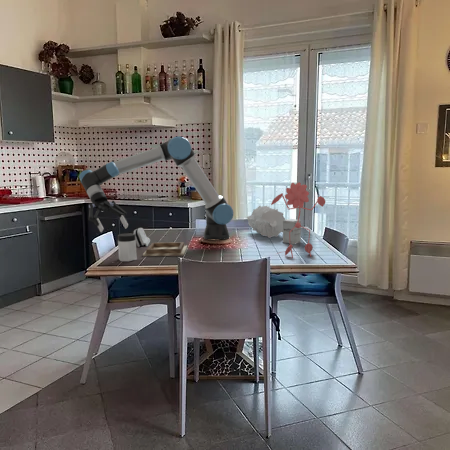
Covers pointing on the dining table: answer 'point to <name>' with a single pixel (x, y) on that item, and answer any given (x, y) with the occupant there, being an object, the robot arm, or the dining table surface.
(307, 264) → the dining table surface
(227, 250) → the dining table surface
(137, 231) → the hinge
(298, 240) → the supplement box
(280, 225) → the grey rounded scaly piece
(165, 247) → the jar stand
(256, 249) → the dining table surface
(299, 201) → the figurine
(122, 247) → the jar
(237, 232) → the dining table surface
